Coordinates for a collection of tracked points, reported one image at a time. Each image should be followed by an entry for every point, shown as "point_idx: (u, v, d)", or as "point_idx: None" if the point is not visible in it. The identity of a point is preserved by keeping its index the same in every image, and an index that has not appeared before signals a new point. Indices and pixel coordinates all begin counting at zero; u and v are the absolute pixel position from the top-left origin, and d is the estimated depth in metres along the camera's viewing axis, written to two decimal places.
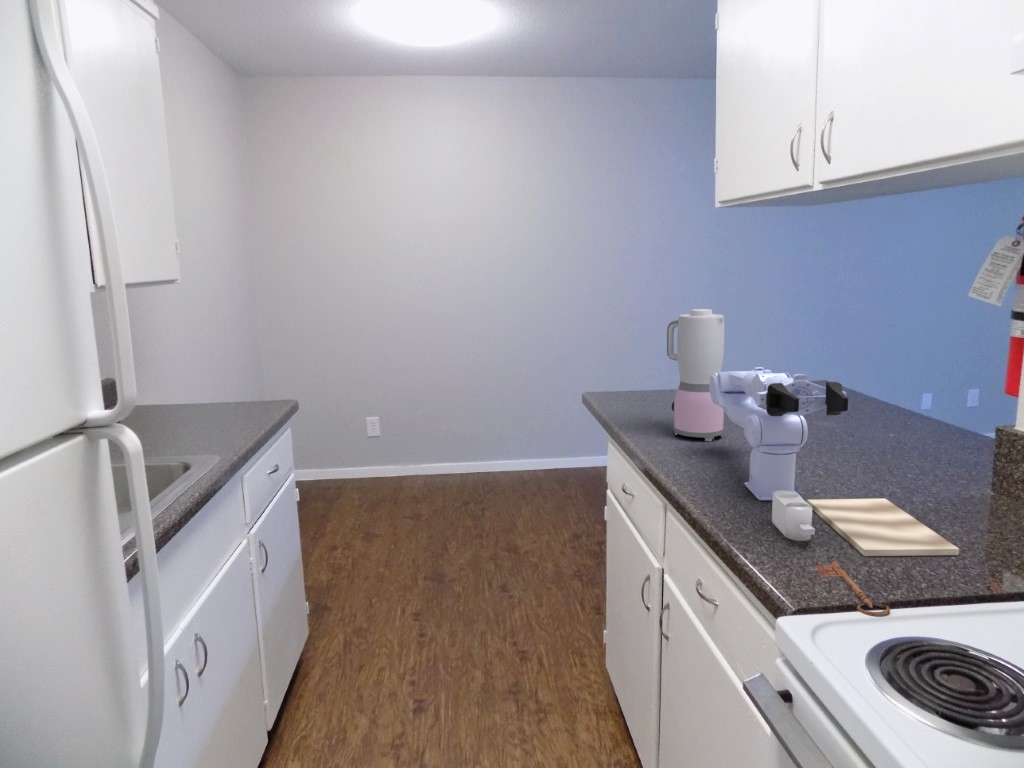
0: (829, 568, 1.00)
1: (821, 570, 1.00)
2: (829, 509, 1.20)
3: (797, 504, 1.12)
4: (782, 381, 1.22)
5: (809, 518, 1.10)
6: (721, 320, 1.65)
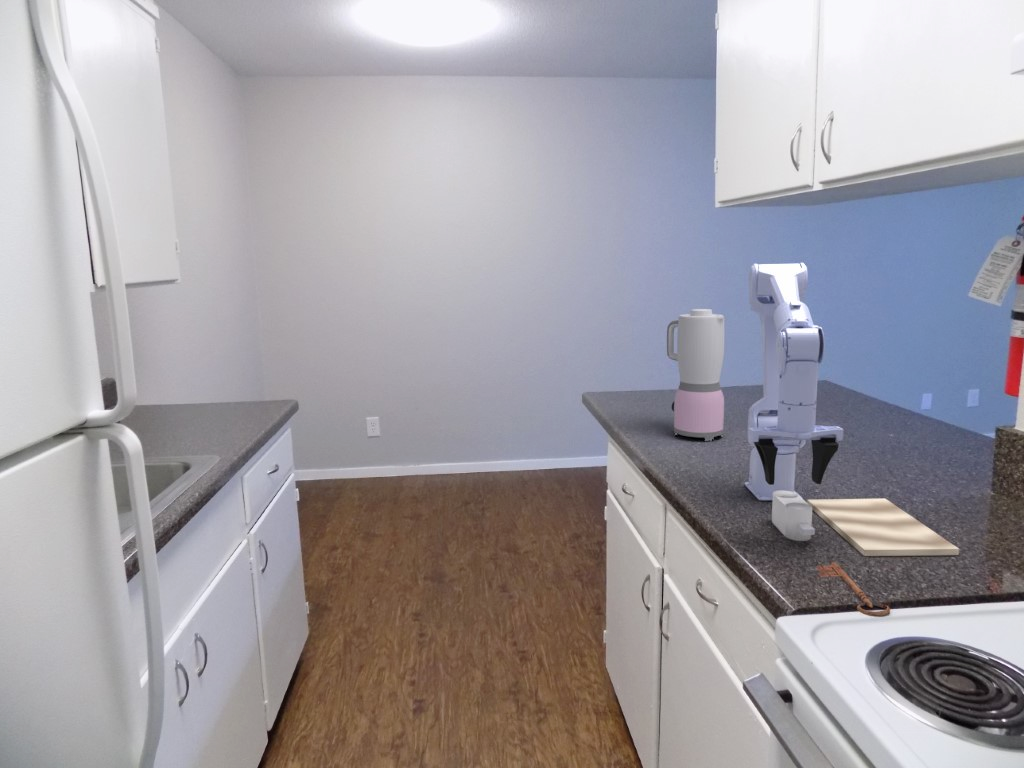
0: (829, 568, 1.00)
1: (821, 570, 1.00)
2: (829, 509, 1.20)
3: (797, 504, 1.12)
4: (792, 409, 1.09)
5: (809, 518, 1.10)
6: (721, 320, 1.65)
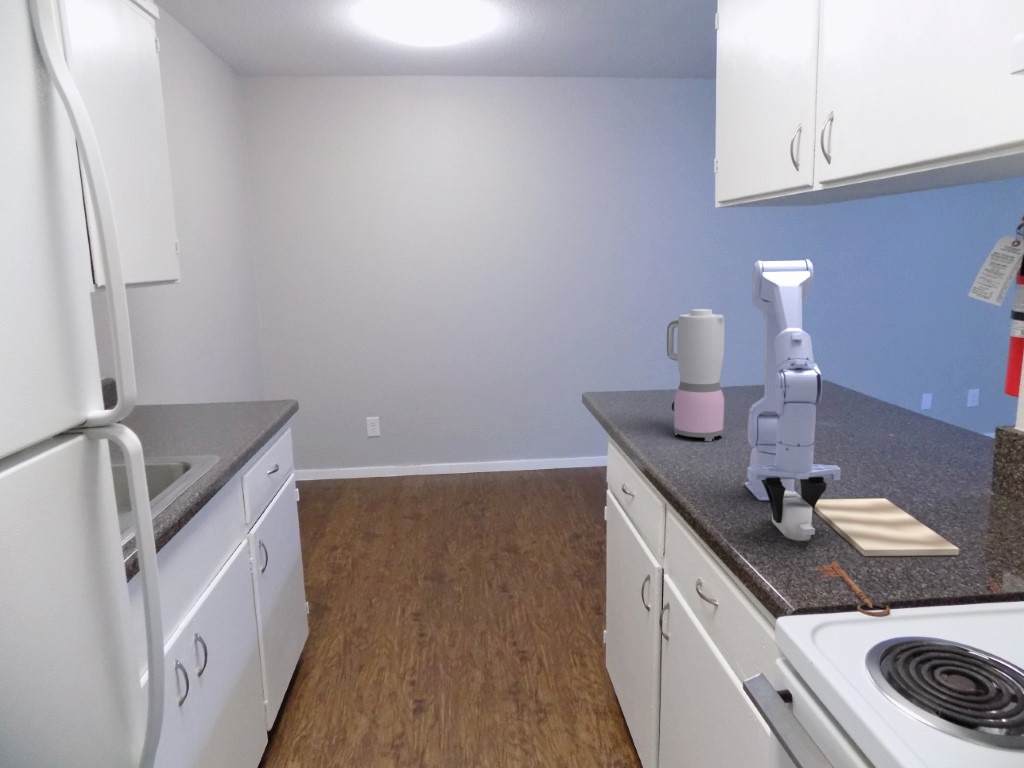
0: (829, 568, 1.00)
1: (821, 570, 1.00)
2: (829, 509, 1.20)
3: (797, 504, 1.12)
4: (790, 450, 1.10)
5: (809, 518, 1.10)
6: (721, 320, 1.65)
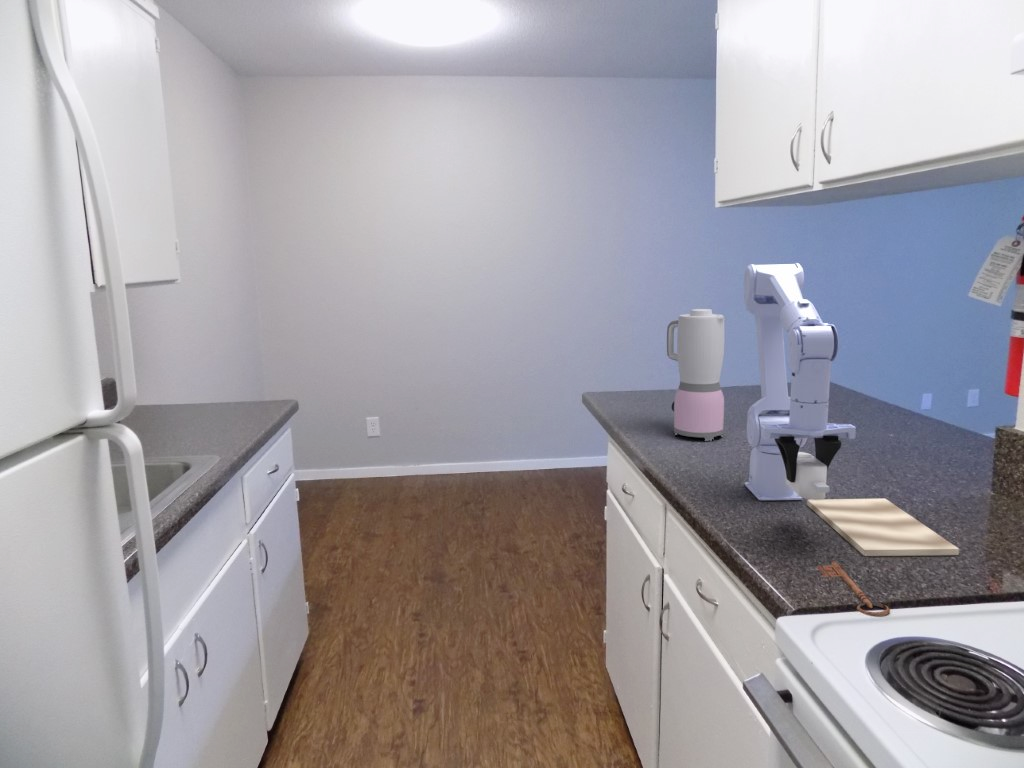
0: (829, 568, 1.00)
1: (821, 570, 1.00)
2: (829, 509, 1.20)
3: (811, 463, 1.11)
4: (805, 407, 1.09)
5: (823, 477, 1.08)
6: (721, 320, 1.65)
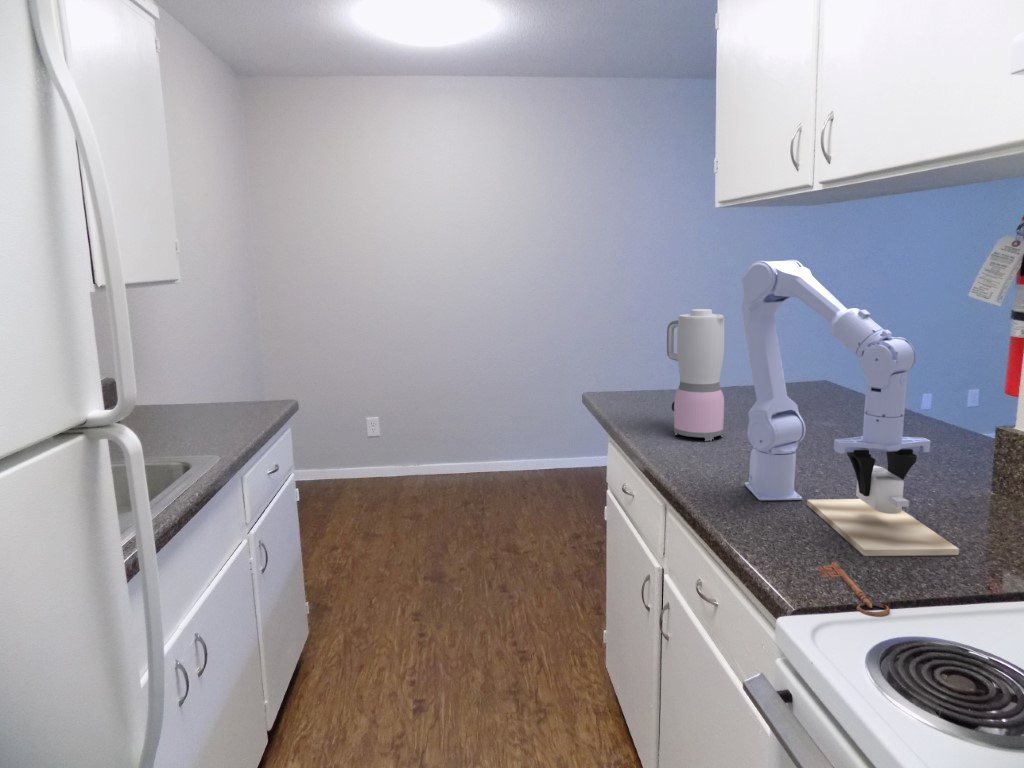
0: (829, 568, 1.00)
1: (821, 570, 1.00)
2: (829, 509, 1.20)
3: (886, 477, 1.11)
4: (881, 421, 1.09)
5: (901, 491, 1.08)
6: (721, 320, 1.65)
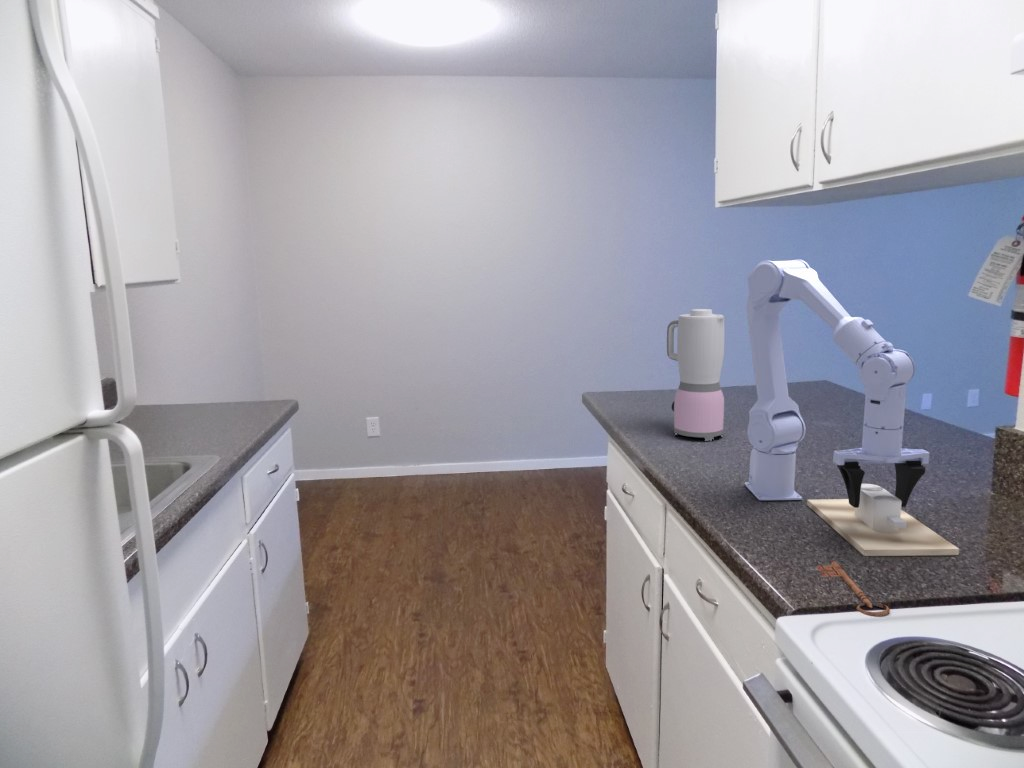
0: (829, 568, 1.00)
1: (821, 570, 1.00)
2: (829, 509, 1.20)
3: (884, 497, 1.12)
4: (880, 433, 1.09)
5: (898, 511, 1.09)
6: (721, 320, 1.65)
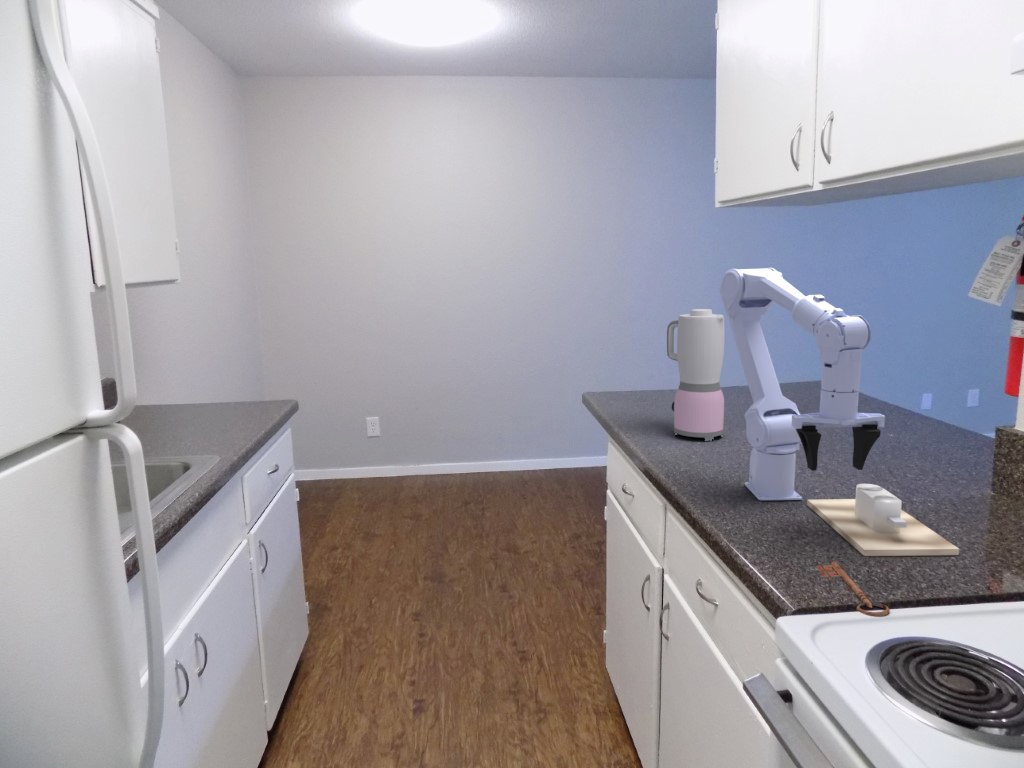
0: (829, 568, 1.00)
1: (821, 570, 1.00)
2: (829, 509, 1.20)
3: (884, 497, 1.12)
4: (836, 397, 1.12)
5: (898, 511, 1.09)
6: (721, 320, 1.65)
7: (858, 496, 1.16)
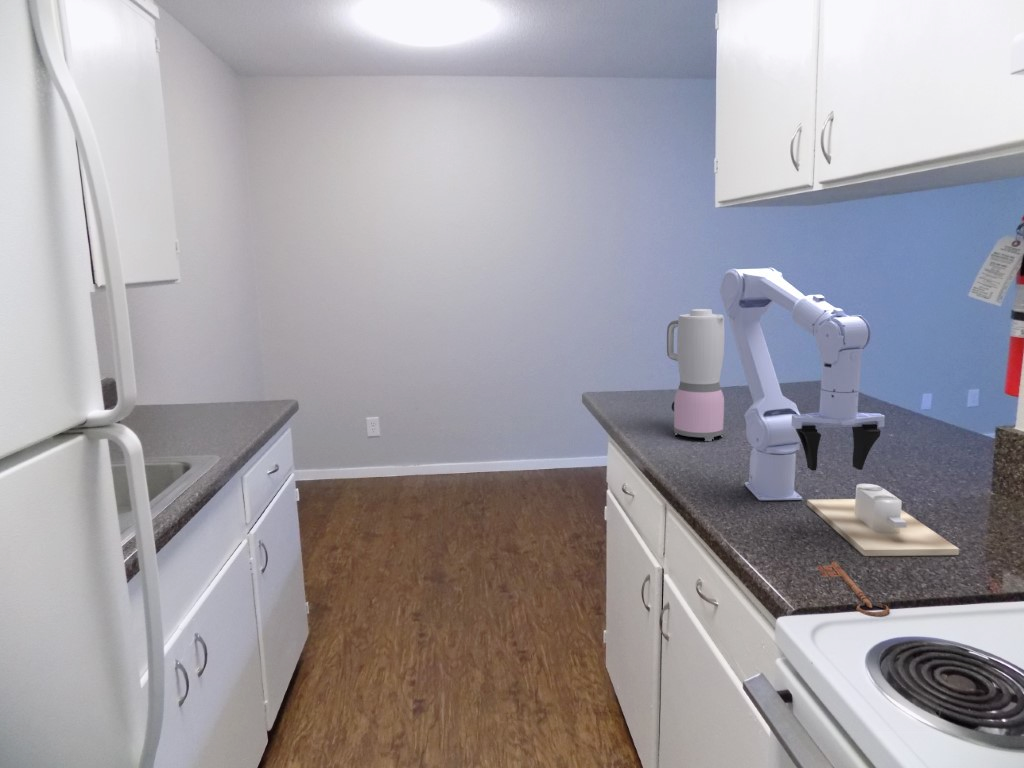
0: (829, 568, 1.00)
1: (821, 570, 1.00)
2: (829, 509, 1.20)
3: (884, 497, 1.12)
4: (836, 397, 1.12)
5: (898, 511, 1.09)
6: (721, 320, 1.65)
7: (858, 496, 1.16)
